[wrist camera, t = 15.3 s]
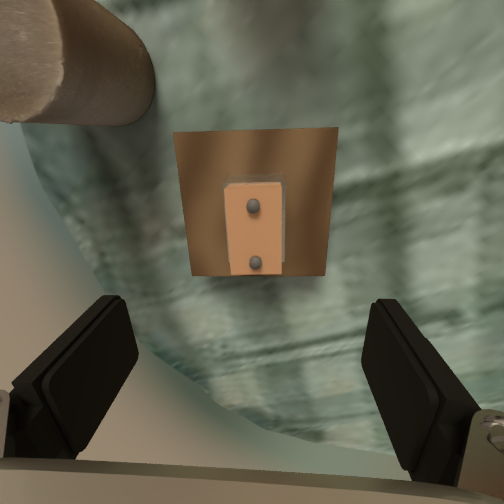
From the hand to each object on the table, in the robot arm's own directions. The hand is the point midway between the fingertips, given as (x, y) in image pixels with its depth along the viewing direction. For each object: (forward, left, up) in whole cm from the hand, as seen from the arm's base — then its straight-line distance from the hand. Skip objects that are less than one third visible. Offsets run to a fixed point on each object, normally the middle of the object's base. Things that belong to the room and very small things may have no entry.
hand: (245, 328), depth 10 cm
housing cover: (0, 0, -13) cm, 13 cm away
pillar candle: (+15, -13, -24) cm, 31 cm away
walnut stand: (0, 0, -23) cm, 23 cm away
